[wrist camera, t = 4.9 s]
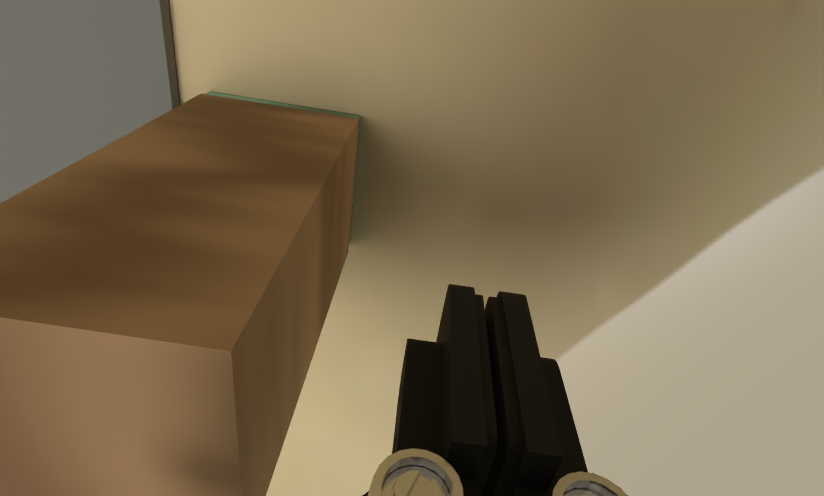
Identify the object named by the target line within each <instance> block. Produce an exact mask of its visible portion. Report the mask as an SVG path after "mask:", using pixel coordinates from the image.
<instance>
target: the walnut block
mask: <svg viewBox="0 0 824 496" xmlns="http://www.w3.org/2000/svg"><path fill="white" fill-rule="evenodd" d="M359 122H360V115H353V114H347V113H341V112H335V111H328V110H322V109H316V108H309V107H303V106H297V105H290V104H284V103H278V102H271V101H265V100H259V99H253V98H246V97H240V96H234V95H227V94H221V93H215V92H208V93H207V94H200V95H198V96H196V97H194V98H192V99H191V100H189V101H187V102H185V103H183V104H181V105H180V106H178V107H176V108H174V109H172V110H170V111H169V112H167V113H165V114H163V115H161V116H159V117H158V118H156V119H154V120H152V121H150V122H148V123H147V124H145V125H143V126H141V127H139V128H137V129H136V130H134V131H132V132H130V133H128V134H126V135H125V136H123V137H121V138H119V139H117V140H115V141H114V142H112V143H110V144H108V145H106V146H104V147H103V148H101V149H99V150H97V151H95V152H93V153H92V154H90V155H88V156H86V157H84V158H82V159H81V160H79V161H77V162H75V163H73V164H71V165H70V166H68V167H66V168H64V169H62V170H60V171H59V172H57V173H55V174H53V175H51V176H49V177H48V178H46V179H44V180H42V181H40V182H38V183H37V184H35V185H33V186H31V187H29V188H27V189H26V190H24V191H22V192H20V193H18V194H16V195H15V196H13V197H11V198H9V199H7V200H5V201H4V202H2V203H0V496H266V493H267V490H268V487H269V484H270V481H271V478H272V475H273V472H274V469H275V466H276V463H277V460H278V458H279V455H280V452H281V449H282V446H283V443H284V440H285V437H286V434H287V431H288V428H289V425H290V422H291V419H292V416H293V413H294V410H295V407H296V404H297V401H298V398H299V395H300V392H301V389H302V387H303V384H304V381H305V378H306V375H307V372H308V369H309V366H310V363H311V360H312V357H313V354H314V351H315V348H316V345H317V342H318V339H319V336H320V333H321V330H322V327H323V324H324V321H325V319H326V316H327V313H328V310H329V307H330V304H331V301H332V298H333V295H334V292H335V289H336V286H337V283H338V280H339V277H340V274H341V271H342V268H343V265H344V262H345V259H346V256H347V253H348V247H349V240H350V228H351V216H352V205H353V193H354V181H355V169H356V157H357V145H358V133H359Z"/></svg>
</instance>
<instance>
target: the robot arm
mask: <svg viewBox="0 0 824 496" xmlns="http://www.w3.org/2000/svg"><path fill="white" fill-rule="evenodd" d="M363 496H628V495H627V494H626V493H625V492H624V491H623V490H622V489H621V488H620V487H618V486H617V485H615V484H614V483H612V482H611V481H609V480H608V479H606V478H604V477H601V476H599V475H596V474H594V473H588V471H587V467H586V464H585V460H584V456H583V453H582V449H581V445H580V442H579V438H578V434H577V431H576V427H575V424H574V420H573V416H572V413H571V410H570V405H569V402H568V398H567V394H566V391H565V387H564V384H563V380H562V377H561V373H560V369H559V367H558V364H557V362H556V361H555V360H554V359H548V358H541V357H540V354H539V349H538V345H537V341H536V337H535V332H534V328H533V324H532V320H531V315H530V311H529V307H528V303H527V298H526V296H525V295H522V294H515V293H508V292H501V291H500V292H499V293H498V295H497V297H489V298H488V301H487V304H486V308H485V310H484V301H483V296H482V295H476V294H475V291H474V288H473V287H466V286H459V285H452V284H449V286H448V289H447V293H446V298H445V303H444V308H443V312H442V317H441V322H440V327H439V332H438V336H437V341H436V342H429V341H422V340H415V339H407V344H406V350H405V356H404V362H403V368H402V375H401V382H400V389H399V397H398V406H397V415H396V424H395V433H394V442H393V451H392V455H389V456H388V457H387V458H386V459H385V460H384V461H383V462H382V463H381V464H380V465H379V467H378V469H377V471H376V473H375V474H374V476H373V480H372V483H371V486H370V489H369V491H368V492H367V493H366V494H364V495H363Z"/></svg>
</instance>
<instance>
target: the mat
mask: <svg viewBox="0 0 824 496" xmlns="http://www.w3.org/2000/svg"><path fill="white" fill-rule="evenodd" d="M178 106H180V101H179V92H178V83H177V74H176V65H175V56H174V48H173V39H172V30H171V21H170V12H169V3H168V0H0V203H2V202H4V201H5V200H7V199H9V198H11V197H13V196H15V195H16V194H18V193H20V192H22V191H24V190H26V189H27V188H29V187H31V186H33V185H35V184H37V183H38V182H40V181H42V180H44V179H46V178H48V177H49V176H51V175H53V174H55V173H57V172H59V171H60V170H62V169H64V168H66V167H68V166H70V165H71V164H73V163H75V162H77V161H79V160H81V159H82V158H84V157H86V156H88V155H90V154H92V153H93V152H95V151H97V150H99V149H101V148H103V147H104V146H106V145H108V144H110V143H112V142H114V141H115V140H117V139H119V138H121V137H123V136H125V135H126V134H128V133H130V132H132V131H134V130H136V129H137V128H139V127H141V126H143V125H145V124H147V123H148V122H150V121H152V120H154V119H156V118H158V117H159V116H161V115H163V114H165V113H167V112H169V111H170V110H172V109H174V108H176V107H178Z"/></svg>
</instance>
